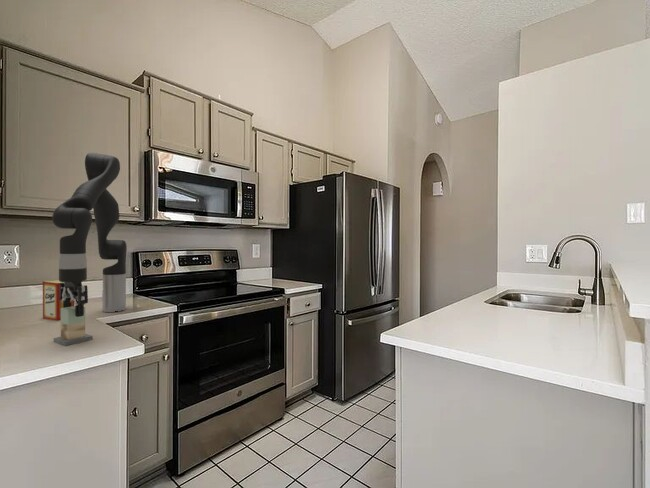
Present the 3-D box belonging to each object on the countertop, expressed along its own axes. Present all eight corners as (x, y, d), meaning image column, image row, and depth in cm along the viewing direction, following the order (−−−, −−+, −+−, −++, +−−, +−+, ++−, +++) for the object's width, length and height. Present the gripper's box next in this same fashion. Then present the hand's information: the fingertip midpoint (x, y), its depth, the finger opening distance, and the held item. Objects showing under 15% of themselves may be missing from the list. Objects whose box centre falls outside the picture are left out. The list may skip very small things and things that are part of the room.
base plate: (53, 341, 110) (53, 338, 110) (80, 335, 117) (80, 332, 117) (65, 345, 106) (64, 342, 106) (92, 339, 113) (92, 335, 113)
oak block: (60, 337, 110) (60, 322, 110) (77, 333, 115) (77, 319, 114) (68, 340, 108) (68, 325, 108) (85, 336, 112) (85, 321, 112)
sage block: (60, 322, 110) (60, 308, 110) (77, 319, 115) (77, 305, 114) (68, 325, 108) (68, 310, 108) (85, 321, 112) (85, 307, 112)
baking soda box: (74, 317, 142) (74, 280, 141) (57, 320, 135) (57, 282, 135) (60, 315, 145) (59, 278, 144) (42, 318, 139) (42, 280, 138)
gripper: (96, 267, 110) (96, 315, 111) (75, 264, 117) (75, 309, 118) (70, 269, 104) (70, 320, 104) (49, 266, 111) (50, 314, 111)
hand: (73, 314), depth 111 cm, fingers open, 8 cm apart
